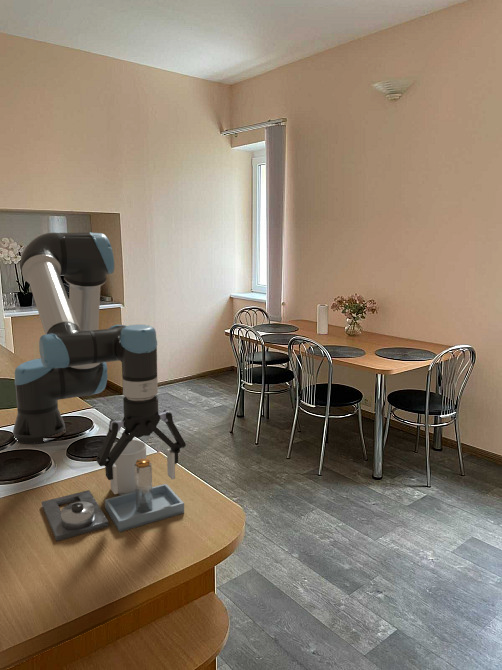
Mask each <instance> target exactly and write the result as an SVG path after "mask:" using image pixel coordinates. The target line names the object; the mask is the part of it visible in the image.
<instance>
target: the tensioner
mask: <svg viewBox="0 0 502 670" xmlns="http://www.w3.org/2000/svg"><path fill="white" fill-rule="evenodd" d="M66 504H67V505H66ZM62 505H65V506H64V507H62V508H60V507H59V506H62ZM41 508H42V510H43V512H44V515H45V517H46V520H47V522H48V524H49V527H50V530H51V532H52V533H53V537H54V538H55V541H56V542H59V541H63V540H66V539H70V538H73V537H76V536H80V535H84V534H86V533H90V532H94V531H97V530H101V529H105V528H108V527H109V526H110V525H109V520H108V519H107V517H106V515H105V514H104V512H103V510H102V509H101V507H100V505H99V504H98V501H96V499H95V498H94V496H93V493H92V492H91V491H90V490H89V489H87V490H83V491H80V492H76V493H72V494H67V495H64V496H59V497H56V498H52V499H47V500H43V501H41Z"/></svg>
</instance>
